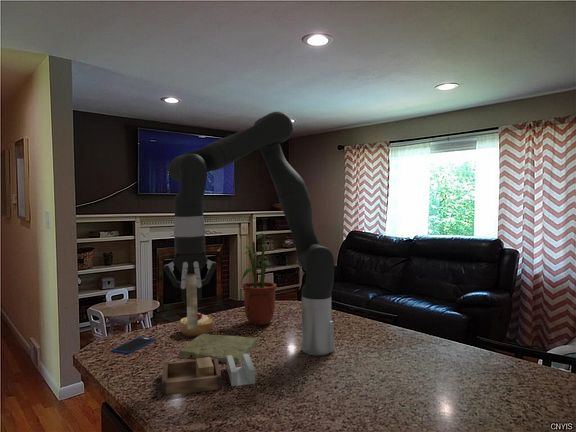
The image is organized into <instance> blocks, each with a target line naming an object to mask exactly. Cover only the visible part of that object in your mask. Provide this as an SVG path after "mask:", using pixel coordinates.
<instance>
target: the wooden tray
mask: <svg viewBox="0 0 576 432" xmlns="http://www.w3.org/2000/svg"><path fill="white" fill-rule="evenodd" d="M211 361H212V363H213V366H214V376H207V377H198V378H197V376H196V359H188V360H180V361H169V362H163V369H162V374H161V375H162V376H161V377H162V378H161V397H166V396H175V395H182V394H183V395H184V394H189V393H190V394H191V393H200V392H207V391H209V392H210V391H216V390H222V389H223V385H222V381H223V380H222V373H221V369H220V368H221V367H220V364H219V363H220V362H218V359H217V358H211Z"/></svg>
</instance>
